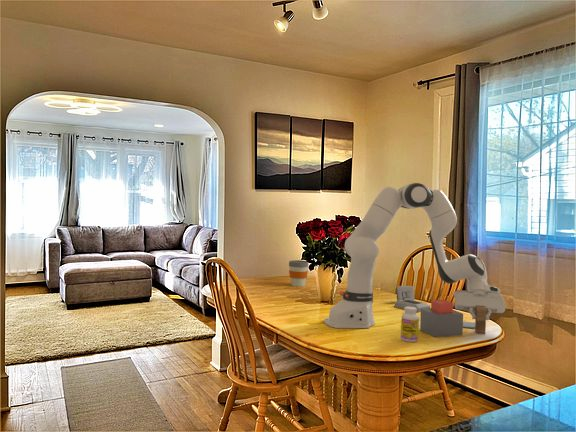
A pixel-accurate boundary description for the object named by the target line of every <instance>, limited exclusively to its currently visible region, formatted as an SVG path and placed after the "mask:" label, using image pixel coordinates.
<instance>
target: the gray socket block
mask: <svg viewBox="0 0 576 432" xmlns="http://www.w3.org/2000/svg"><path fill="white" fill-rule="evenodd" d="M463 322H464V313H462V312H460V311H457V310H456V309H453V313H441V314H439V313H437V312H434V311H432V310H431V307H430V308H429V309H421V312H420V317H419V324H420V325H419V326H420V327H419V330H420V331H422V332H423V333H426V334H427V335H430V336H432V337H434V338H443V337H444V338H445V337H458V336H459V337H460V336H464V335H463V331H464V328H463Z"/></svg>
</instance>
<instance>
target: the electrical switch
mask: <svg viewBox="0 0 576 432" xmlns="http://www.w3.org/2000/svg"><path fill="white" fill-rule="evenodd" d="M395 293H396V302H397V301H399V300H405V299H409V300H413V301H416V300H415V292H414V287H413V286H412V285H398V286H396V288H395Z"/></svg>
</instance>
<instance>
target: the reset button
mask: <svg viewBox="0 0 576 432" xmlns="http://www.w3.org/2000/svg"><path fill="white" fill-rule="evenodd" d="M453 303H454V302H451V301H449V300H445V299H435V300H433V299H431V300H430V308H431V310H432V311H434V312H437V313H439V314H441V313H453V310H454V304H453Z"/></svg>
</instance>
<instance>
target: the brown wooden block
mask: <svg viewBox="0 0 576 432" xmlns="http://www.w3.org/2000/svg"><path fill="white" fill-rule="evenodd" d="M475 314H476V319H474V321H475V329H474V332H475V334H484V335H485V334H486V329H487V327H486V326H487V323H486V322H487V320H486V315H487V312H486V307H485V306H478V305H476V311H475Z"/></svg>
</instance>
